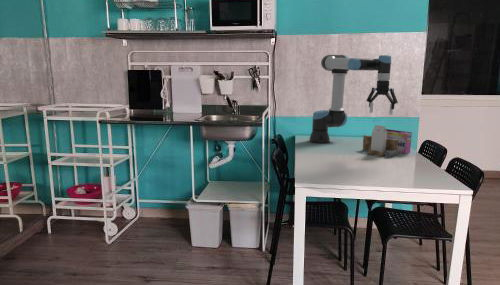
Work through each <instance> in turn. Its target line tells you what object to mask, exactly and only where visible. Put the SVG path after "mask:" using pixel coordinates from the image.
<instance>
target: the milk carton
mask: <svg viewBox="0 0 500 285" xmlns="http://www.w3.org/2000/svg"><path fill="white" fill-rule="evenodd" d="M386 129H387V127H386V125H378V124H374V127H373V129H372V131H371V136H372V140H371V150H373V151H379V152H383V155H385V151H386V138H387V130H386Z"/></svg>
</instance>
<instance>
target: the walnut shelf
mask: <svg viewBox="0 0 500 285" xmlns="http://www.w3.org/2000/svg"><path fill="white" fill-rule="evenodd" d="M362 140H363V142H362V150H363V151H367V155H369V156H374V157H380V158H383V156H384V154H383V152H379V151H373V150H371V140H372V135H365V134H363V139H362ZM391 149H397V150H398V140H395V139H388V138H386V151H387V150H391ZM397 150H396V156H398V152H397Z"/></svg>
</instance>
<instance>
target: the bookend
mask: <svg viewBox="0 0 500 285" xmlns="http://www.w3.org/2000/svg"><path fill="white" fill-rule="evenodd" d="M396 150H397V149H391V150H387V151H385V154H384V156H385V157H384V158H387V157H388V159H389V157H390V158H392V157H395V156H397V155H396Z"/></svg>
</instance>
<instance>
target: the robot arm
mask: <svg viewBox="0 0 500 285" xmlns="http://www.w3.org/2000/svg"><path fill="white" fill-rule="evenodd" d="M320 65H321V68H323V69H324V70H325V71H327V72H330V71H331V74H332V91H331V105H330V108H329V109H328V110H324V109H323V110H321V109H320V110H316V111H314V112H313V113H312V124H311V125H312V126H311V127H312V128H311V134H310V136H309V142H311V143H316V144H327V143H330V141H331V140H330V135H329V131H328V130H329V128H340V127H341V128H342V127H344V126H345V125H346V123H347V122H348V114H347V113H346V112H345V109H344V107H343V106H344V95H345V93H344V92H345V81H346V75H348V72H349V71H371V72H373V71H377V79H376V80H377V81H376V87H375V86H374V87H372V88H371V91H370V92H369V94H368V97H367V99H366V102H368V107H369V113H373V112H374V100H376V99H377V97H378V96H385V97H386V98H387V100H388V101H389V103H390V104H389V113H388V114H389V116H390V115H391V116H392V115H393V110H394V109H395V105H396V104H398V103H399V102H398V99H397V97H396V94H395V89H394V88H391V87H390V79H391V66H392V56H391V55H387V54H386V55H385V54H382V55H378V58H357V57H353V58H352V57H350V56H348V55H346V54H327V55H325V56H323V57H322V59H321V62H320ZM389 92H390V93H389Z"/></svg>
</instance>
